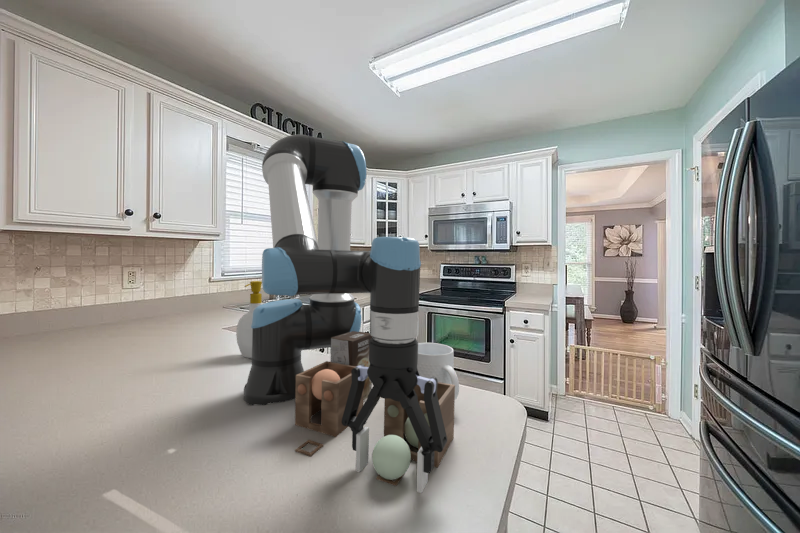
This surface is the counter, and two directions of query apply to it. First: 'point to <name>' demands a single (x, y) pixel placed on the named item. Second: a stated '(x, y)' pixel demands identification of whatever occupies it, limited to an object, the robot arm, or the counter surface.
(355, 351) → the coffee box
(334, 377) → the terracotta ball
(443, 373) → the mug
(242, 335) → the soap bottle
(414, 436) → the sage ball
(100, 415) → the counter surface
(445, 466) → the counter surface
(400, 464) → the sage ball
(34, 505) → the counter surface
